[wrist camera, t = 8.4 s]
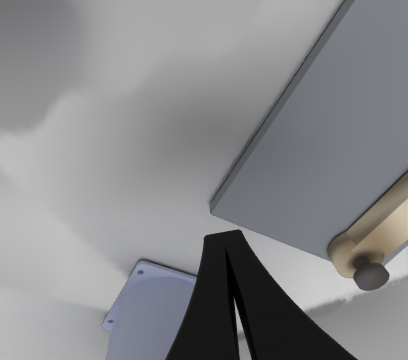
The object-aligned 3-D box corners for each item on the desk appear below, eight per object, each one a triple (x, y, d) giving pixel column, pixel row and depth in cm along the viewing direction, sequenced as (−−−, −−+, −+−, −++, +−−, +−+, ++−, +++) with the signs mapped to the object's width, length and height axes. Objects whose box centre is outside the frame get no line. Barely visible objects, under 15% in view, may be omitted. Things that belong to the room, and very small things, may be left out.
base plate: (365, 268, 27) (371, 277, 26) (209, 205, 22) (210, 214, 21) (534, 113, 20) (550, 118, 19) (363, -28, 15) (375, -30, 14)
